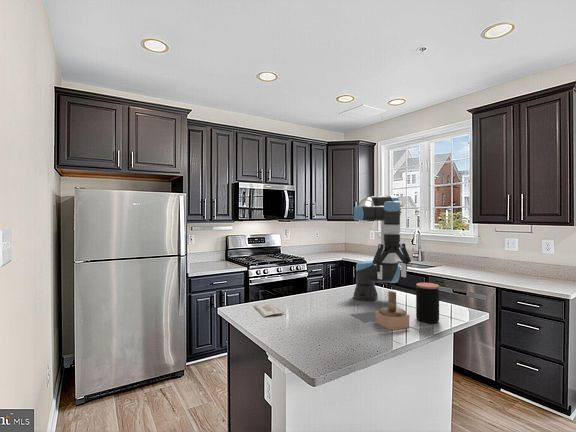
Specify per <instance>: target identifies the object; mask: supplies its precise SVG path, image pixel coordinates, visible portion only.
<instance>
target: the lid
mask: <svg viewBox="0 0 576 432" xmlns="http://www.w3.org/2000/svg"><path fill="white" fill-rule="evenodd" d="M387 295H388V296H387V297H388V299H387V300H388V301H387V303H388V306H385V307H380V308H378V310H379V313H380V314H382V315H386V316H392V317H401V316H405V315H406V314H407V311H406V310H405V309H403V308H399V307H397V291H395V290H389V291H388V294H387Z"/></svg>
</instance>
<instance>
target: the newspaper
mask: <svg viewBox="0 0 576 432" xmlns="http://www.w3.org/2000/svg"><path fill="white" fill-rule="evenodd" d="M253 307H254V308H255V309H256V310H257V312H258V313H259V314H260V315H261V316H262V317H263V318H265V317H267V316H273V315H277V316H279V317H280V316H283V315H285V314H286V312H284V311H283V310H281V309H280V308H278V307H276V306H275V305H274V304H272V303H271V302H263V303H258V304H254V305H253Z"/></svg>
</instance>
